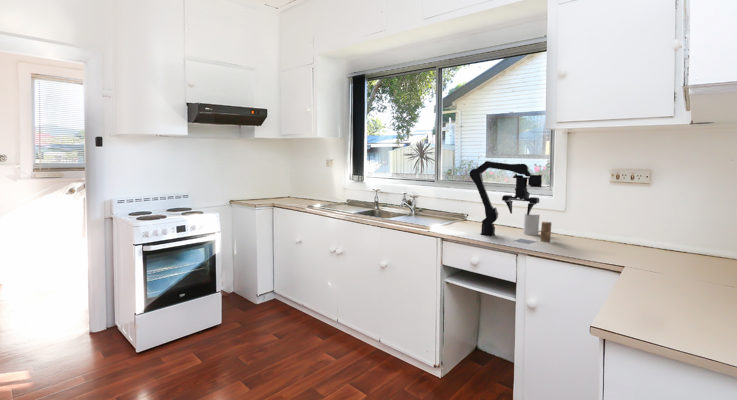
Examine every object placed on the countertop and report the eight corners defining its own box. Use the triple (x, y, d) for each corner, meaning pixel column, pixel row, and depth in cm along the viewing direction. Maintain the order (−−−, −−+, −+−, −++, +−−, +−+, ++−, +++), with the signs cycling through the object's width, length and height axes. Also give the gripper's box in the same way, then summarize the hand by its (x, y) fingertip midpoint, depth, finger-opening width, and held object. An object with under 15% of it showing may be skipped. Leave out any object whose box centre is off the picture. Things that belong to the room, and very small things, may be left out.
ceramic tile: (536, 241, 217) (536, 241, 217) (538, 238, 224) (538, 238, 224) (552, 243, 214) (552, 243, 214) (553, 240, 221) (553, 240, 221)
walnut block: (540, 241, 218) (541, 222, 217) (541, 239, 222) (542, 221, 221) (549, 242, 216) (550, 223, 215) (550, 240, 220) (551, 222, 219)
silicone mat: (512, 240, 217) (512, 240, 217) (520, 238, 223) (520, 238, 223) (529, 243, 211) (529, 243, 211) (536, 241, 217) (536, 241, 217)
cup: (535, 233, 241) (537, 213, 240) (540, 235, 233) (541, 215, 232) (521, 232, 242) (522, 212, 240) (525, 235, 234) (526, 214, 232)
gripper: (543, 186, 223) (541, 214, 225) (509, 184, 235) (508, 211, 237) (537, 188, 215) (535, 217, 216) (502, 185, 226) (500, 213, 228)
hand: (519, 214), depth 225 cm, fingers open, 9 cm apart
